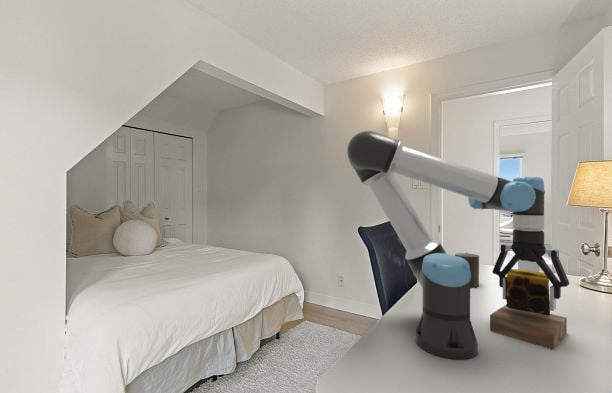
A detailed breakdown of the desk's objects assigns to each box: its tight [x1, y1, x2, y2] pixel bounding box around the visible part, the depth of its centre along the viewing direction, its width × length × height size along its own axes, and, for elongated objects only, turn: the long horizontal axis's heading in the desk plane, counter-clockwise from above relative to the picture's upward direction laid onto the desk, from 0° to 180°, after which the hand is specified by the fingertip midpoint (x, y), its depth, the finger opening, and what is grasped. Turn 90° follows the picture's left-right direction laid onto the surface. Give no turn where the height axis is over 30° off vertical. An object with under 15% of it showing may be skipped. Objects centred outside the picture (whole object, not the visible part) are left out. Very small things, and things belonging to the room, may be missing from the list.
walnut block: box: [489, 304, 568, 351], centre depth 90 cm, size 15×15×5 cm
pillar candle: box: [454, 252, 480, 289], centre depth 137 cm, size 10×10×15 cm
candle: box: [505, 268, 551, 315], centre depth 90 cm, size 10×10×10 cm
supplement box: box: [517, 260, 540, 272], centre depth 135 cm, size 7×7×13 cm
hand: (528, 303), depth 90 cm, fingers closed on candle, 11 cm apart
